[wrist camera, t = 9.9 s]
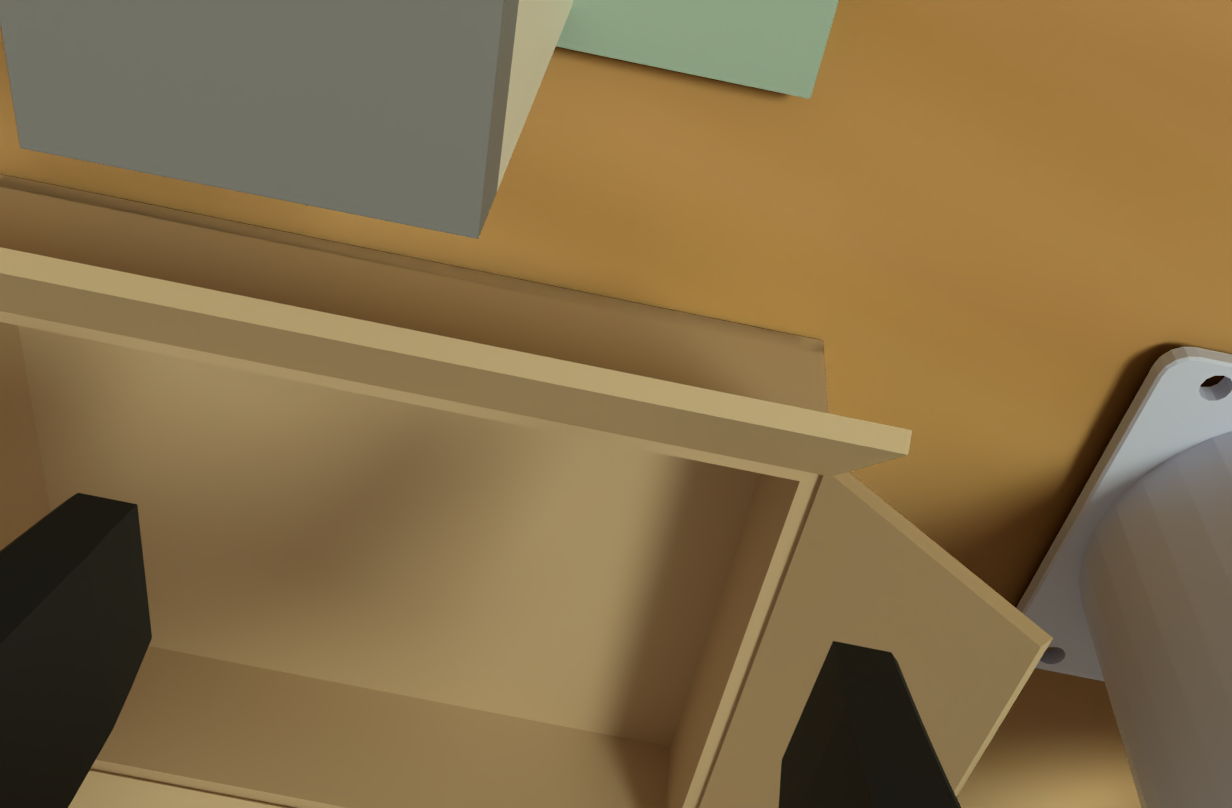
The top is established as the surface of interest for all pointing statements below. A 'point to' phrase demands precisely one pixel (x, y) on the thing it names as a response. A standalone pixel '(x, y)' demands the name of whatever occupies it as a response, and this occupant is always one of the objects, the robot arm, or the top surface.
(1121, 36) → the top surface
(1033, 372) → the top surface
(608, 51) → the pad
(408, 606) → the carton
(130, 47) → the block
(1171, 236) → the top surface
